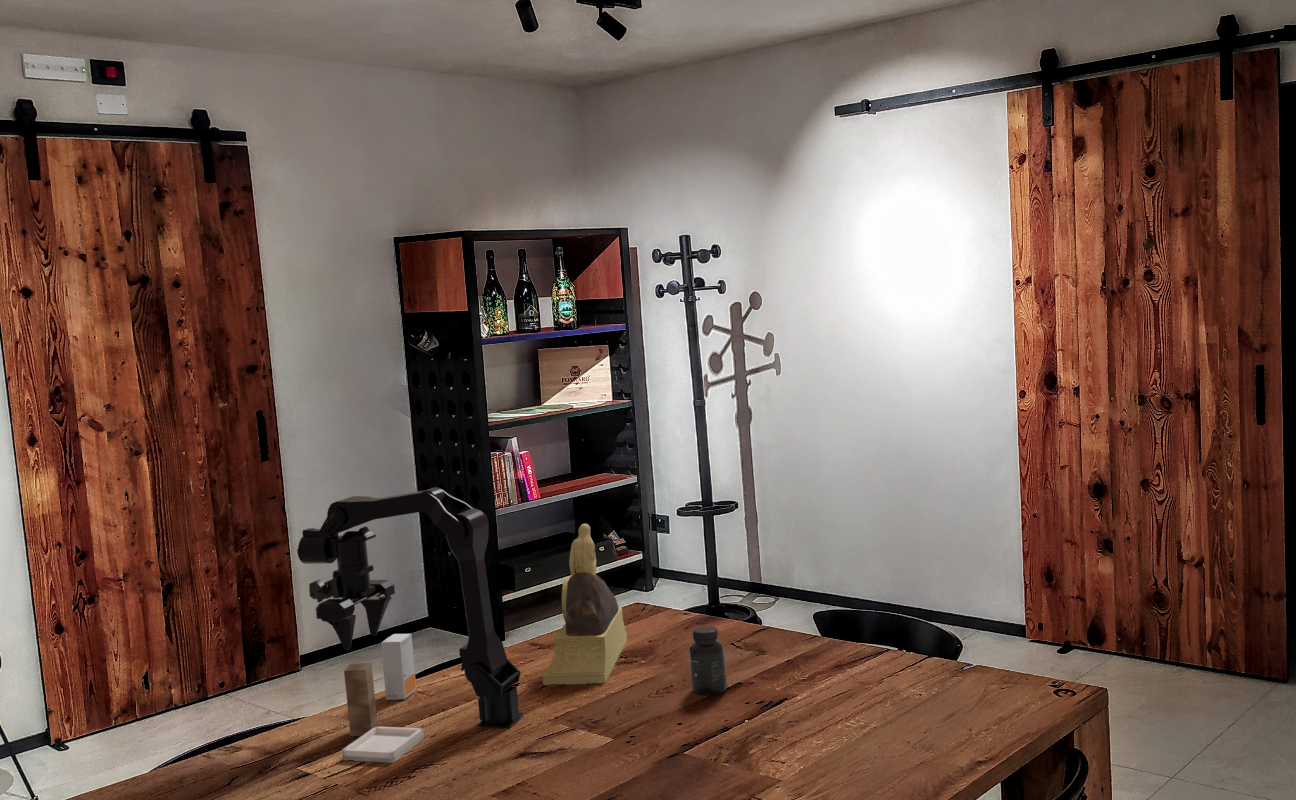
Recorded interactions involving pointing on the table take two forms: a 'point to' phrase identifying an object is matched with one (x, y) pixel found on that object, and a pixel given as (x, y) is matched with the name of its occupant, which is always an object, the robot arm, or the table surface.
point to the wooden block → (360, 698)
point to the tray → (383, 744)
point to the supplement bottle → (707, 662)
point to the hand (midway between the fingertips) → (360, 642)
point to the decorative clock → (586, 622)
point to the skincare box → (398, 666)
